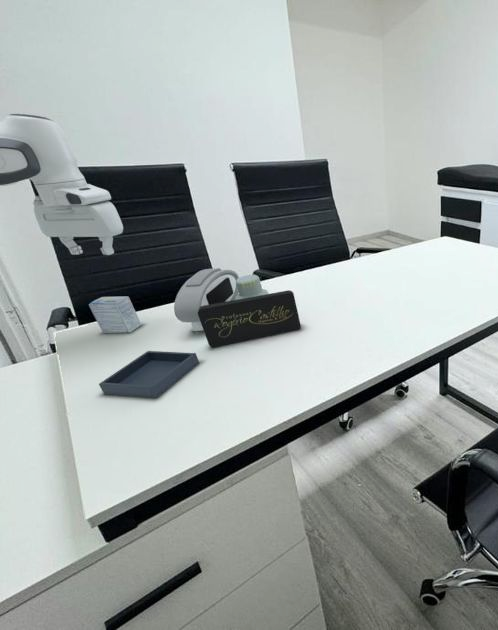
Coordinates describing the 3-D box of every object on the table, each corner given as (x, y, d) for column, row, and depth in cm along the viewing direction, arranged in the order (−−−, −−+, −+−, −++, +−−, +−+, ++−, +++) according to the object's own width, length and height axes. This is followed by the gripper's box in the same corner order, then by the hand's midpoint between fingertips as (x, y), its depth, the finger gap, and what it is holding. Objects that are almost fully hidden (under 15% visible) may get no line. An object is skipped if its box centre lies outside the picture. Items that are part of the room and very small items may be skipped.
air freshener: (275, 315, 104) (266, 281, 100) (242, 323, 101) (232, 288, 96) (268, 301, 113) (260, 269, 108) (238, 308, 109) (228, 275, 105)
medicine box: (142, 325, 104) (129, 295, 100) (129, 333, 100) (115, 303, 96) (115, 325, 104) (102, 296, 101) (102, 333, 101) (87, 303, 97)
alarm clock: (208, 336, 96) (191, 289, 90) (184, 337, 96) (165, 290, 90) (245, 298, 116) (233, 257, 110) (225, 299, 116) (212, 258, 111)
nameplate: (209, 348, 90) (196, 310, 86) (210, 344, 92) (197, 306, 87) (301, 329, 96) (293, 292, 92) (300, 325, 98) (292, 289, 93)
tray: (103, 394, 76) (98, 384, 75) (152, 360, 87) (147, 350, 86) (156, 398, 74) (151, 387, 73) (199, 362, 85) (195, 353, 84)
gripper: (15, 198, 86) (46, 257, 92) (88, 196, 82) (115, 258, 88) (45, 193, 92) (72, 249, 98) (115, 191, 87) (138, 250, 94)
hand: (93, 254), depth 93 cm, fingers open, 8 cm apart
